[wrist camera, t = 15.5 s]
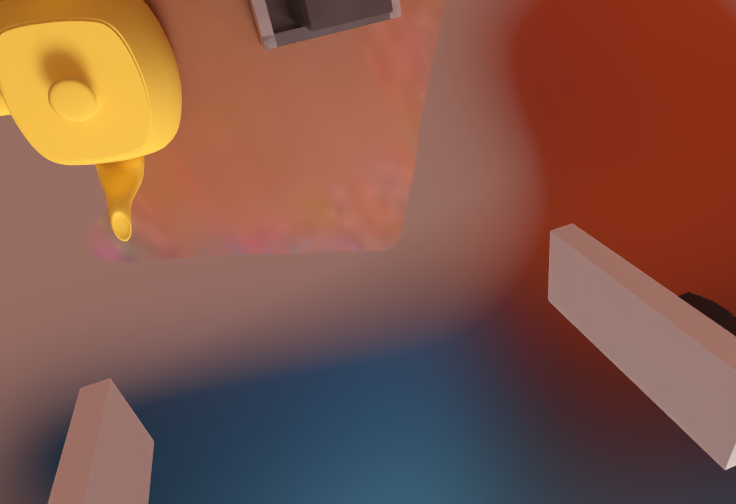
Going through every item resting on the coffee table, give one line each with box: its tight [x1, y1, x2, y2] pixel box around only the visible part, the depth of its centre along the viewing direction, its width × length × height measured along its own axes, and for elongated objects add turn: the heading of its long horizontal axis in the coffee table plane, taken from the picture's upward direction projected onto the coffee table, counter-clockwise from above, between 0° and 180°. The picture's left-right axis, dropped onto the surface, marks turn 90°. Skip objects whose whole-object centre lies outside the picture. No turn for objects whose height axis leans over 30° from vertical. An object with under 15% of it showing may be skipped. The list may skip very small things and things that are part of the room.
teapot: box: [0, 0, 182, 241], centre depth 36 cm, size 22×16×11 cm
